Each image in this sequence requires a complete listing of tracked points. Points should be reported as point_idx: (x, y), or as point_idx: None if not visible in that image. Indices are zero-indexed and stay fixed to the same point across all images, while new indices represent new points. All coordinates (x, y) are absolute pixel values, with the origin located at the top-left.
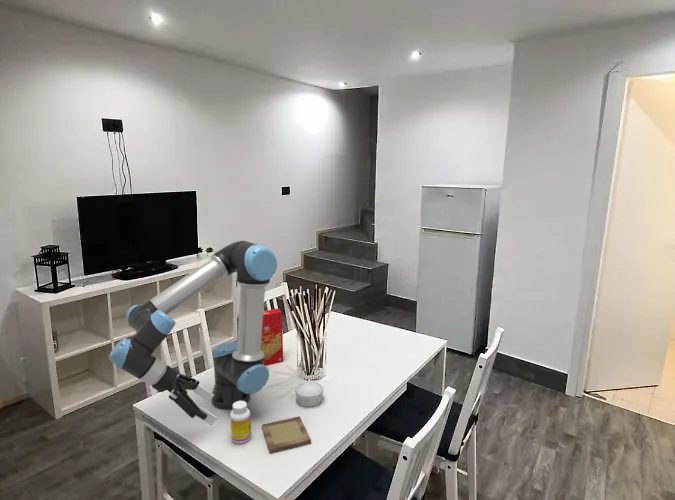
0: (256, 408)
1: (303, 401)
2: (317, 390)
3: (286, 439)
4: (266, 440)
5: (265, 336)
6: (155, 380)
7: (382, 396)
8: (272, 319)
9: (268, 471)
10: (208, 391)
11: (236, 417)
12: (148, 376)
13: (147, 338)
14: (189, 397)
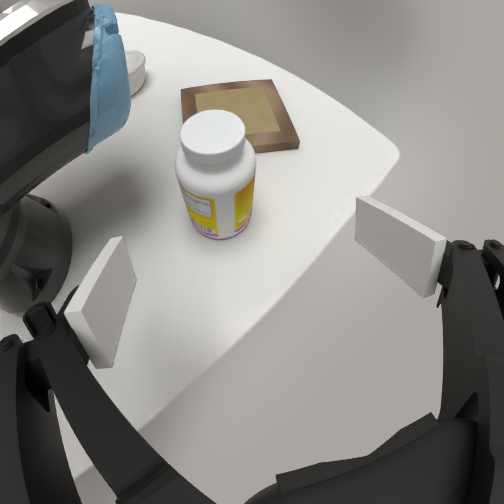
0: (93, 184)
1: (134, 83)
2: (127, 55)
3: (264, 110)
4: (258, 147)
5: None
6: None
7: (165, 24)
8: None
9: (353, 156)
10: (102, 256)
11: (251, 164)
12: None
13: None
14: (483, 317)
